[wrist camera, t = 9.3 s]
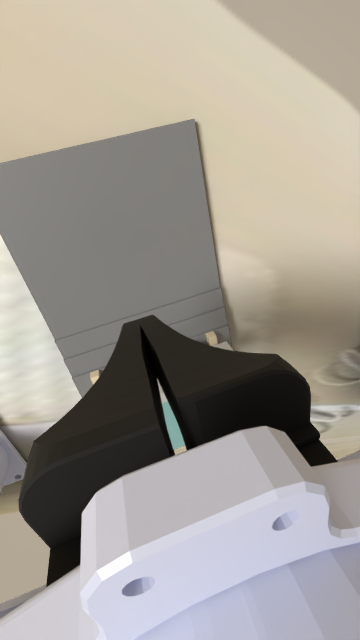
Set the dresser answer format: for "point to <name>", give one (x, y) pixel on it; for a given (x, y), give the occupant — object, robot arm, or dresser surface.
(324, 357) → the dresser surface
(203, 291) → the dock
